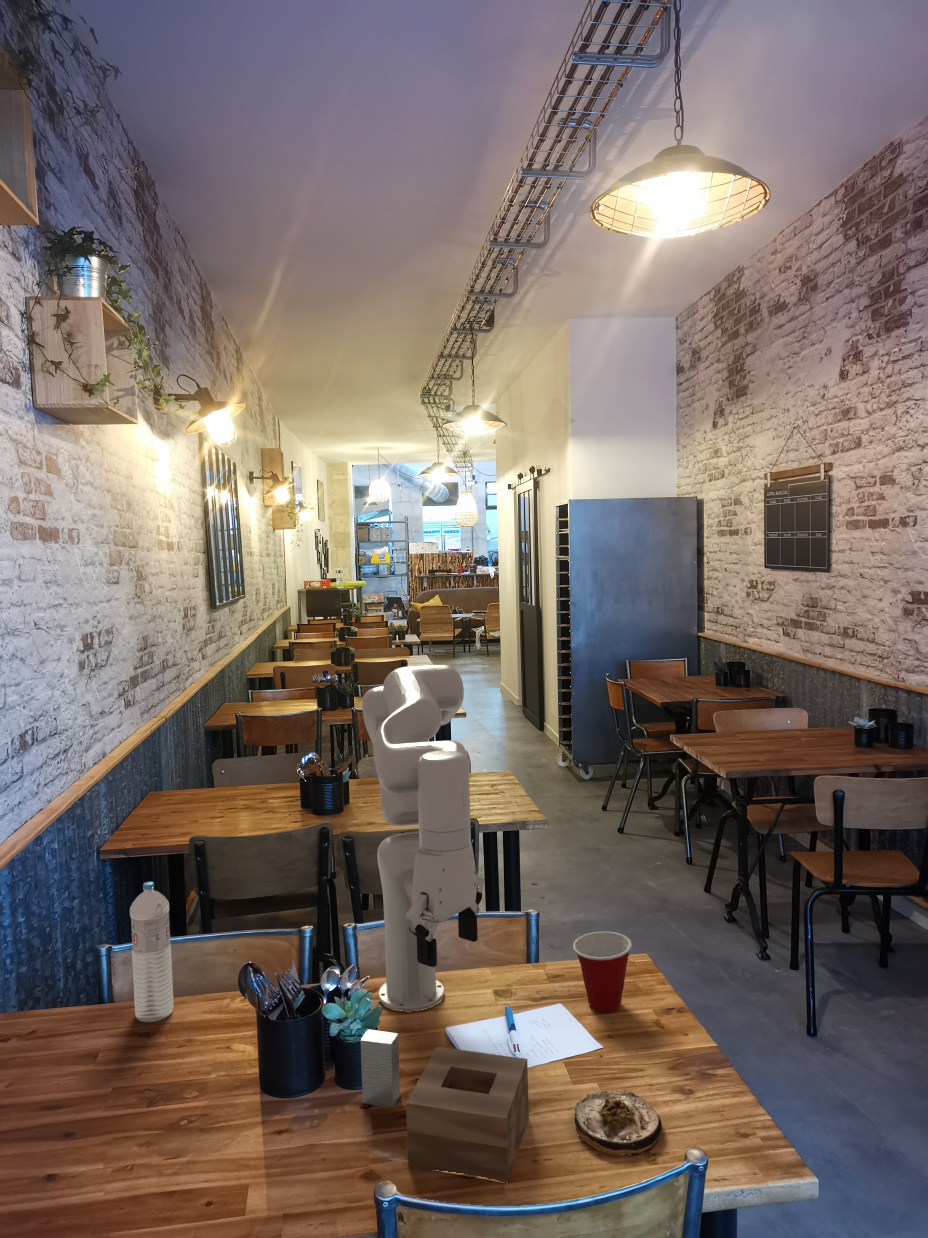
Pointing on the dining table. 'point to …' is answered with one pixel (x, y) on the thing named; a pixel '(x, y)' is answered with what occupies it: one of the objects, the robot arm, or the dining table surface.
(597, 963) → the plastic cup
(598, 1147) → the sushi roll
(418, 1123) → the wooden slotted box
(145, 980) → the water bottle
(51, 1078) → the dining table surface
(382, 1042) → the gray rectangular block
